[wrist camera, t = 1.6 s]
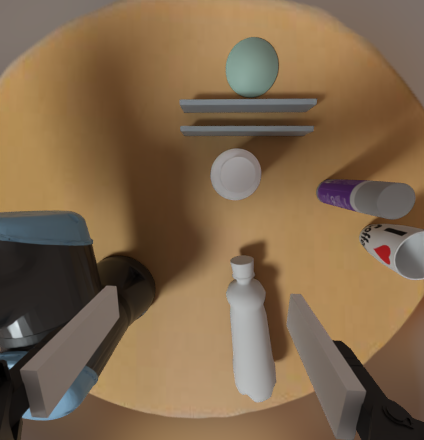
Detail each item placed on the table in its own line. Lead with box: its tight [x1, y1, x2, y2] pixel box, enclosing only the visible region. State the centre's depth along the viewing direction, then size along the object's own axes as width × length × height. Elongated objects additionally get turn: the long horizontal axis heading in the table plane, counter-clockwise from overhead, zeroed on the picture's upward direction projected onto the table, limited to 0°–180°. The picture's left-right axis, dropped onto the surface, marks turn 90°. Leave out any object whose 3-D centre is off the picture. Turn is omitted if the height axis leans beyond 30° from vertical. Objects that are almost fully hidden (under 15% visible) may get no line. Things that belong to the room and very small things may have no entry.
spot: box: [226, 37, 278, 98], centre depth 34 cm, size 9×9×1 cm
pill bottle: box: [210, 148, 261, 200], centre depth 32 cm, size 8×7×14 cm
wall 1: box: [180, 99, 317, 113], centre depth 33 cm, size 22×1×4 cm, turn 90°
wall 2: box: [180, 126, 314, 136], centre depth 34 cm, size 22×1×4 cm, turn 90°
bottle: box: [226, 255, 276, 402], centre depth 41 cm, size 9×9×30 cm
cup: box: [359, 224, 424, 280], centre depth 35 cm, size 8×8×10 cm
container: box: [316, 179, 415, 219], centre depth 31 cm, size 5×5×15 cm
